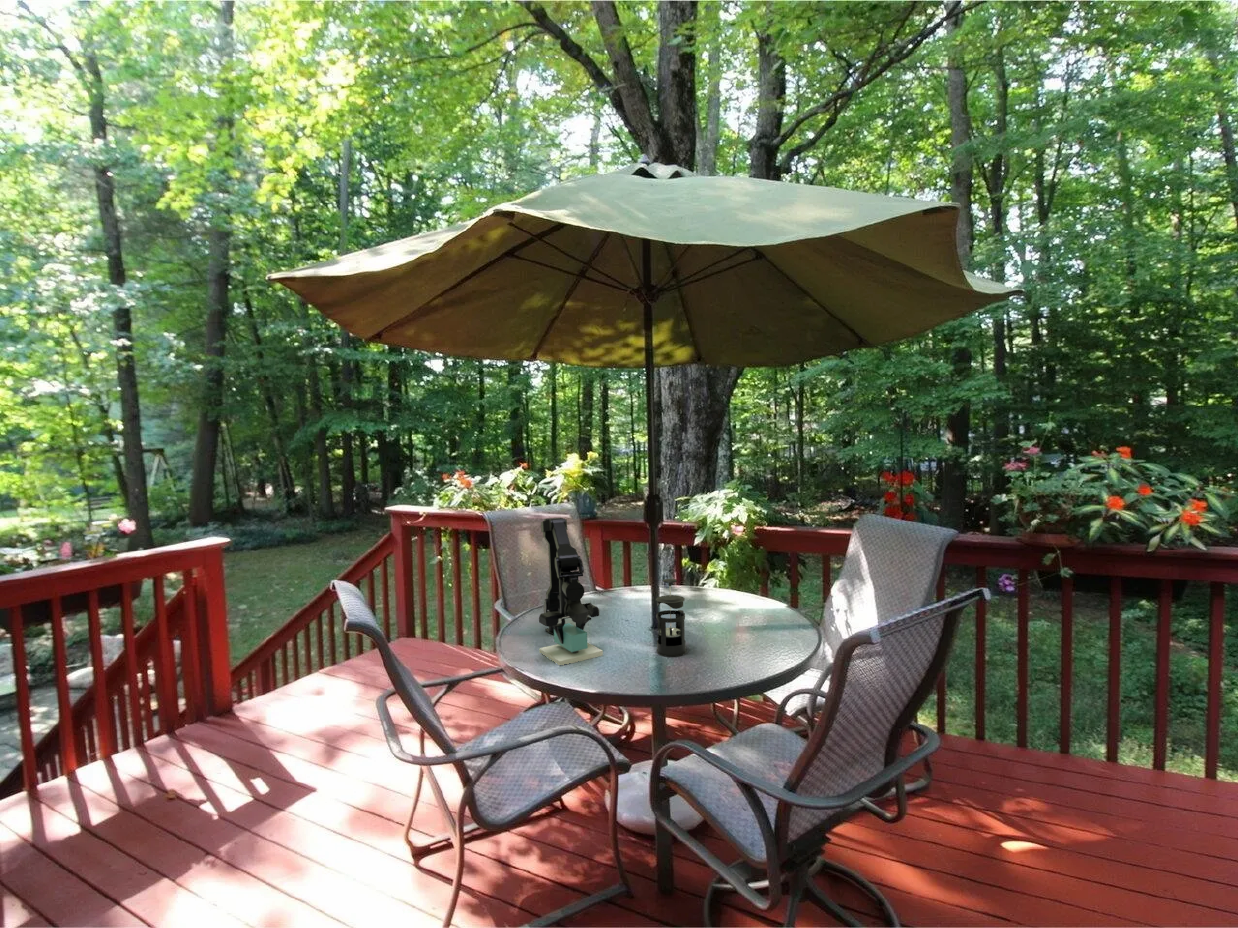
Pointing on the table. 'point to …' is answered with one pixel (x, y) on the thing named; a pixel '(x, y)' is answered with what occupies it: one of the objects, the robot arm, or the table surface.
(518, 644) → the table surface
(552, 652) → the base plate
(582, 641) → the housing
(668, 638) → the french press
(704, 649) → the table surface
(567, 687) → the table surface
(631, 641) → the table surface
